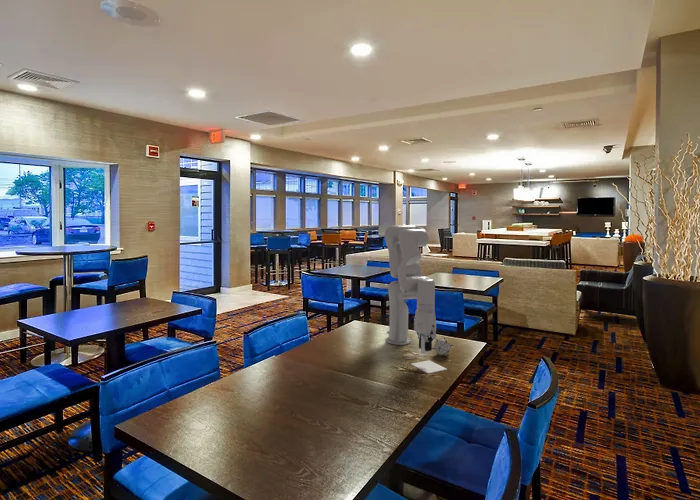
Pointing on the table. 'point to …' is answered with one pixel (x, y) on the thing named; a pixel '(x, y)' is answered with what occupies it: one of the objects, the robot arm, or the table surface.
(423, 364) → the paper
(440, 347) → the game die
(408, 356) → the disc
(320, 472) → the table surface
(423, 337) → the marker
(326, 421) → the table surface
